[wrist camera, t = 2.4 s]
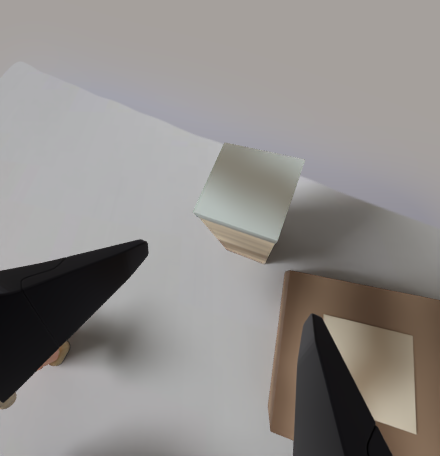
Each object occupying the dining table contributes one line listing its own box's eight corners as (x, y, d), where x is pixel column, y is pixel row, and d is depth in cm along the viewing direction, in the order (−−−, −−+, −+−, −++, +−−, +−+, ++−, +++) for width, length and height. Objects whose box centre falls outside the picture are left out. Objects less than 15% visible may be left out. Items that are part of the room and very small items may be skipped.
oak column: (264, 264, 20) (277, 240, 9) (226, 250, 21) (192, 211, 10) (278, 226, 21) (305, 159, 10) (240, 214, 22) (224, 142, 11)
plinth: (267, 406, 17) (270, 433, 14) (284, 272, 19) (290, 270, 16) (431, 466, 14) (480, 518, 11) (422, 300, 17) (459, 303, 14)
